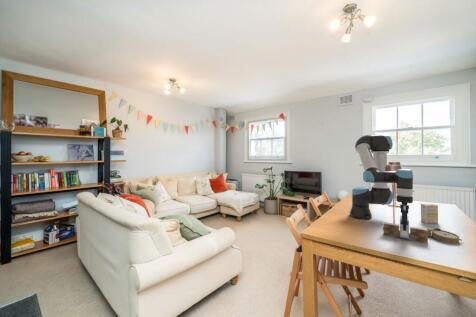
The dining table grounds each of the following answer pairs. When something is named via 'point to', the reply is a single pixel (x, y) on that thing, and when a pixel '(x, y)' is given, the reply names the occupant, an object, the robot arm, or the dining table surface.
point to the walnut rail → (414, 234)
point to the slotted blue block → (401, 227)
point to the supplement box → (429, 213)
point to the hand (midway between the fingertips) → (404, 232)
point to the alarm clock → (443, 235)
